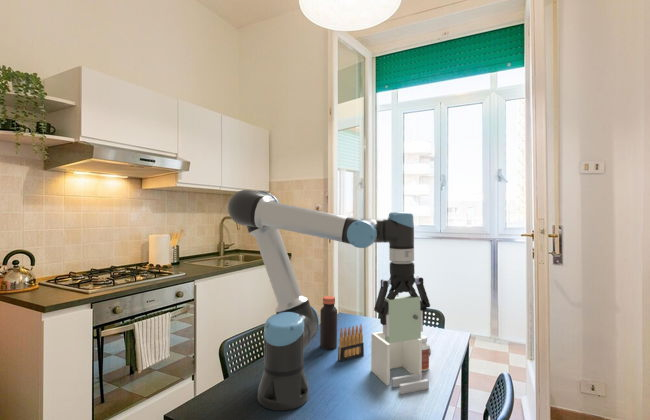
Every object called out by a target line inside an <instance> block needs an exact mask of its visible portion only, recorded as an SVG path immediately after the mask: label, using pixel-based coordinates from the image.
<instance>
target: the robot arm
mask: <svg viewBox="0 0 650 420" xmlns="http://www.w3.org/2000/svg"><path fill="white" fill-rule="evenodd" d="M227 212H228V214H229V217H230V219H231V220H232V221H233V222H234V223H236V224H238V225H241V226H246V228H247V231H248V235H250V236H252V237H254V238H255V241H256V243H257V246H258V249H259V252H260V256H261V258H262V262H263V265H264V267H265V268H264V269H265V271H266V273H267V277H268V279H269V282H270V284H271V285H270V286H271V288H272V291H273V293H274V296H275V297H274V298H275V300H276V302H277V307H276V308H275V313H274V314H273V315H271V316H269V317H268V318H267V319H266V321H265V323H264V331H263V362H264V363H263V373H262V377H261V379H260V382H259V386H258V388H257V402H258V403H259V404H260V405H261V406H262V407H263V408H266V409H268V410H272V411H290V410H291V411H292V410H294V409H297V408H299V407H302V406H303V405H305V403H307V402H308V400H309V396H310V389H309V388H310V386H309V383H308V381H307V377H306V374H305V371H304V352H305V351H304V350H305V348H306V346H307V345H308V344H309V343H310V342H311V340H313V339H314V338H315V336H316V335H317V333H318V331H319V329H320V315H319V314H318V311H317V310H316V308H314V306H312V305H311V304H310V301H309V298H308V297H306V296H305V295H303V294H302V291H301V289H300V286H299V283H298V280H297V277H296V274H295V270H294V269H293V265H292V263H291V260H290V256H289V255H288V252H287V248H286V246H285V243H284V240H283V237H282V234H281V231H280V230H284V231H288V232H292V233H299V234H303V235H307V236H312V237H318V238H320V239H327V240H330V241H334V242H335V241H336V242H340V243H343V244H344V243H345V244H347V245H352V246H353V247H355V248H358V249H367V248H368V247H370V246H372V245H373V244H375V243H380V244H381V243H388V245H389V246H388V247H389V248H388V249H389V250H388V252H389V258H388V259H389V261H390V263H389V275H390V277H389V279H380V288H379V291H378V295H377V298H376V302H375V305H374V308H373V309H374V312H376V313H378V314H379V317H380V319H379V320H380V325H382V332H383V334H384V335H385V336H387V337H389V315H388V314H387V312H388V310H389V304H388V302H386V301H385V298H387V299H389V300H394V299H395V297H398V295H399V294H402V293H408V294H409V296H410V295H411V296H413V297H420V318H421V333H422V332H424V320H425V318H426V317H425V311H427V310H428V308H431V304H430V300H429V297H428V294H427V291H426V289H425V285H424V278H423V277H421V276H414V275H415V263H414V261H415V226H414V223H415V222H414V214H412V213H411V212H409V211H404V212H403V211H402V212H401V211H399V212H397V211H395V212H389V214H388V218H356V217H350V216H345V215H341V214H336V213H330V212H325V211H321V210H315V209H311V208H305V207H300V206H295V205H290V204H285V203H281V202H280V201H279V200H278V199H277V198H276V196H275V195H273V194H272V193H270V192H268V191H264V190H253V189H252V190H251V189H242V190H238V191H237V192H235V193H234V194H233V195H231V197H230V198H229V201H228V203H227ZM414 284H415V286H416V289H417V291H416V289H415V288H414V286H413V285H414ZM389 287H390V288H389ZM388 290H389V291H388ZM417 292H418V293H417Z"/></svg>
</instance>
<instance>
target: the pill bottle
mask: <svg viewBox="0 0 650 420" xmlns="http://www.w3.org/2000/svg"><path fill="white" fill-rule="evenodd" d="M421 340H422V372H425V371H428V370H429V369H430V354H429V346H430V345H429V343H428V337H427V335H424V334H421Z"/></svg>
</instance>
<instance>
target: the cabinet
mask: <svg viewBox="0 0 650 420" xmlns="http://www.w3.org/2000/svg"><path fill="white" fill-rule="evenodd" d="M370 343H371V348H370V349H371V350H370V351H371V354H370V355H371V361H370V371H371V372H372V373H373V374H374V375H375V376H376V377H377V378H378V379H379V380H381V382H382V383H383V384H385V386H390V384H391V386H392V387H393V388H396V387H399V388H398V393H399V394H401V395H404V394H409V393H413V392H419V391H425V390H428V389H430V388H429V387H430V383H429V382H430V381H429V380H428V379H427V378H426V379H422V378H423V377H422V375H423V374H422V372H423V371H422V340H421V339H414V340H408V341H401V342H395V343H388V342H387V341H386V340H385V335H384V334H383V331H379V332H378V331H377V332H371V342H370ZM397 368H404V369H405V370H406V371H407V372H409V373H410V374H406V375H401V376H395V377H391V369H397ZM390 382H391V383H390Z"/></svg>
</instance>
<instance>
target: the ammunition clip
mask: <svg viewBox="0 0 650 420" xmlns="http://www.w3.org/2000/svg"><path fill="white" fill-rule="evenodd" d="M364 343H365V342H364V335H363V326H362V324H360V325H358V324H356V325H355V326H354V325H353V326H352V328H351V326H348V329H347V327H345V328H344V329H343V328H342V327H341V328H340V332H339V340H338V351H337V352H338V353H337V361H339V362H347V361H350V360H354V359H358V358H362V357H364V355H365V351H364V347H365V346H364Z"/></svg>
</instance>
